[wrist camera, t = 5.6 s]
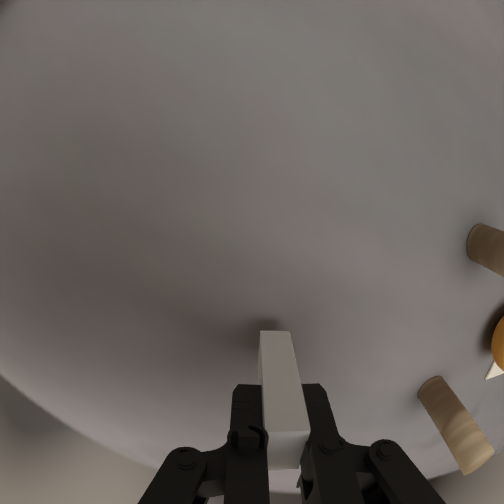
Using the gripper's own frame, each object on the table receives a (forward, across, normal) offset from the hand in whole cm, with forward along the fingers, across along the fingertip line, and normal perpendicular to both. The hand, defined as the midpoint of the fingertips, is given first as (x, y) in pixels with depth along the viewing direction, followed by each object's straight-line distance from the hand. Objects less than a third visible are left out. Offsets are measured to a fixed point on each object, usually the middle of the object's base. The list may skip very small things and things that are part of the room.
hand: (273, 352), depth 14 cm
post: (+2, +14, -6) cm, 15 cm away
